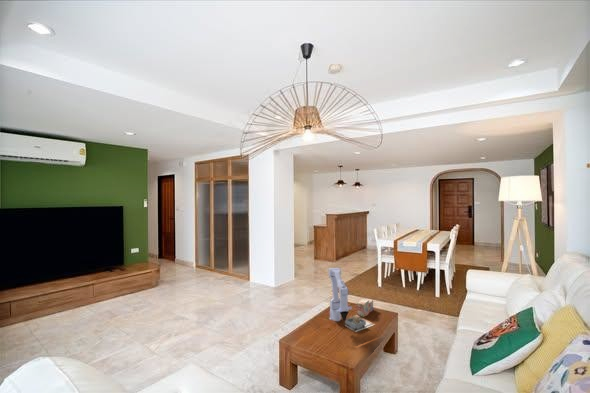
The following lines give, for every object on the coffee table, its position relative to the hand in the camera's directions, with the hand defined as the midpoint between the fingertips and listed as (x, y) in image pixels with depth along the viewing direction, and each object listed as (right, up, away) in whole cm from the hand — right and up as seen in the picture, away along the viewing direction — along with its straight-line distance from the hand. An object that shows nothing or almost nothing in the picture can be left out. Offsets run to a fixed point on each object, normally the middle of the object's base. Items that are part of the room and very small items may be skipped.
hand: (344, 320), depth 221 cm
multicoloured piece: (+25, -9, +34) cm, 43 cm away
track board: (+14, -9, +9) cm, 19 cm away
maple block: (+11, -5, +7) cm, 14 cm away
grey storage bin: (+10, -8, +7) cm, 14 cm away
